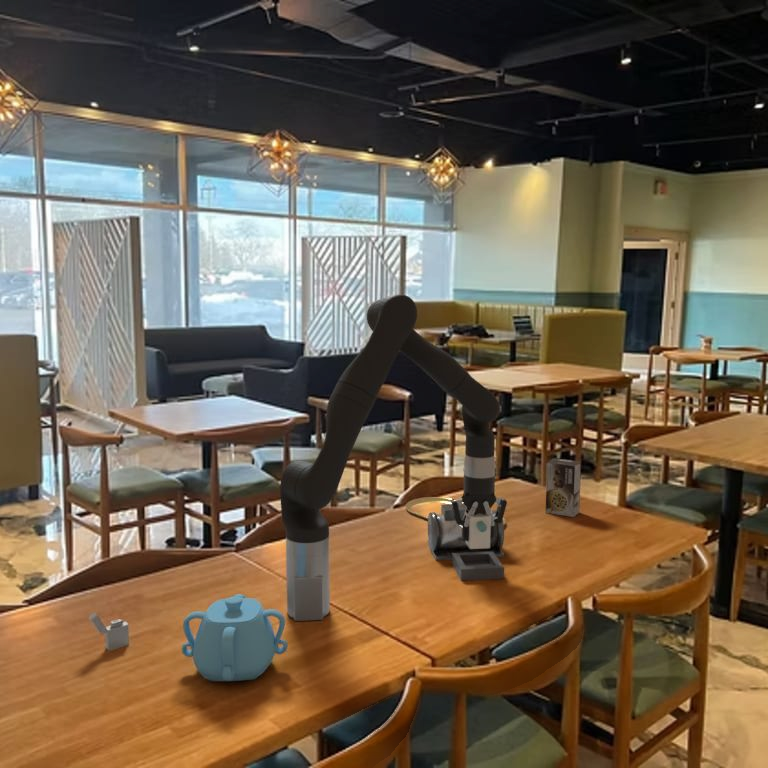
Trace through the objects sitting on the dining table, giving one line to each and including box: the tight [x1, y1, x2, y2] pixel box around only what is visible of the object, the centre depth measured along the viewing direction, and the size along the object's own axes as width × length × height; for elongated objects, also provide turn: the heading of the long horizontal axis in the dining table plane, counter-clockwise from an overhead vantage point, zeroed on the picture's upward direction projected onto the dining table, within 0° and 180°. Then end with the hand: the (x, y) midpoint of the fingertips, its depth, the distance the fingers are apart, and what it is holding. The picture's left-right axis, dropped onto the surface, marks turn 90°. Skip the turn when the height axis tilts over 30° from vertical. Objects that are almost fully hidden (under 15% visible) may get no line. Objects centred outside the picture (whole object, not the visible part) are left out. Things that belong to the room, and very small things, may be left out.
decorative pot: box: [181, 593, 289, 682], centre depth 140 cm, size 16×16×14 cm
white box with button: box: [465, 513, 491, 549], centre depth 184 cm, size 7×5×8 cm
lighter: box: [88, 612, 130, 652], centre depth 147 cm, size 7×2×8 cm, turn 130°
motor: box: [427, 503, 505, 561], centre depth 200 cm, size 12×18×12 cm, turn 97°
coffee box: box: [545, 457, 582, 518], centre depth 231 cm, size 9×6×16 cm
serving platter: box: [405, 496, 506, 526], centre depth 228 cm, size 19×35×2 cm, turn 39°
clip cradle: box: [451, 551, 505, 582], centre depth 188 cm, size 13×11×3 cm
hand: (477, 539), depth 186 cm, fingers closed on white box with button, 5 cm apart
